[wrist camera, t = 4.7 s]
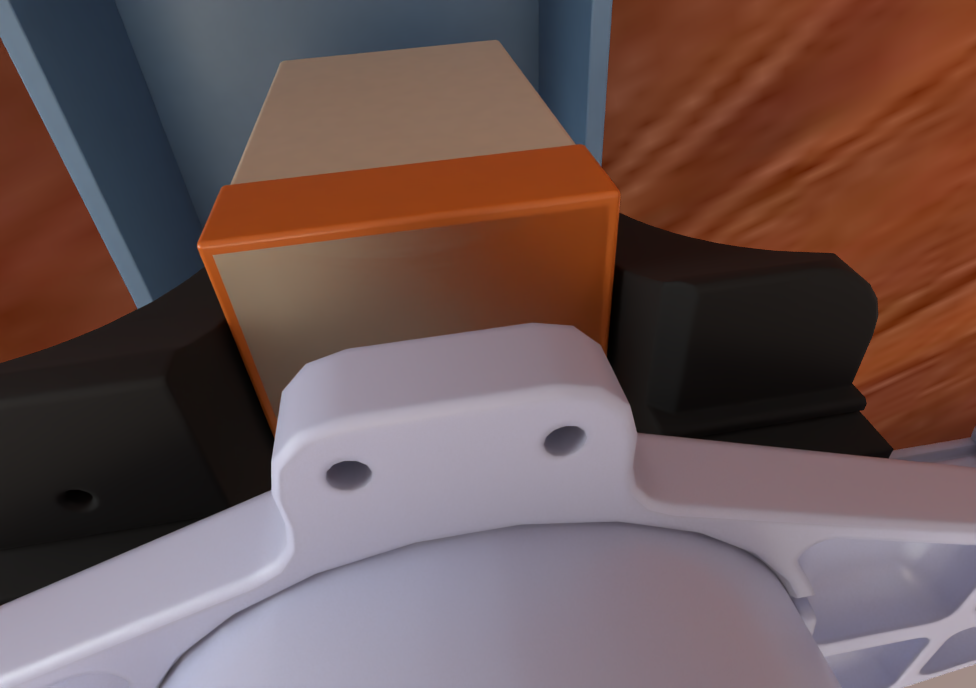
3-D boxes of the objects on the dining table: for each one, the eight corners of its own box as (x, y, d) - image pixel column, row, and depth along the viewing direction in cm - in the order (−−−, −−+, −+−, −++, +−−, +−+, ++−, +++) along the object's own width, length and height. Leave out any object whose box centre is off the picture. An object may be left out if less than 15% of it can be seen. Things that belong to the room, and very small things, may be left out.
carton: (547, 288, 26) (587, 382, 21) (233, 330, 25) (203, 439, 20) (552, -128, 17) (621, -123, 12) (65, -94, 16) (-58, -74, 11)
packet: (511, 299, 16) (592, 539, 11) (343, 322, 16) (331, 584, 10) (501, 35, 12) (624, 191, 7) (275, 57, 12) (192, 244, 6)
